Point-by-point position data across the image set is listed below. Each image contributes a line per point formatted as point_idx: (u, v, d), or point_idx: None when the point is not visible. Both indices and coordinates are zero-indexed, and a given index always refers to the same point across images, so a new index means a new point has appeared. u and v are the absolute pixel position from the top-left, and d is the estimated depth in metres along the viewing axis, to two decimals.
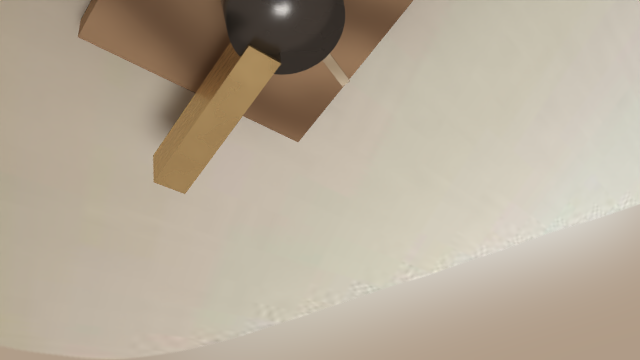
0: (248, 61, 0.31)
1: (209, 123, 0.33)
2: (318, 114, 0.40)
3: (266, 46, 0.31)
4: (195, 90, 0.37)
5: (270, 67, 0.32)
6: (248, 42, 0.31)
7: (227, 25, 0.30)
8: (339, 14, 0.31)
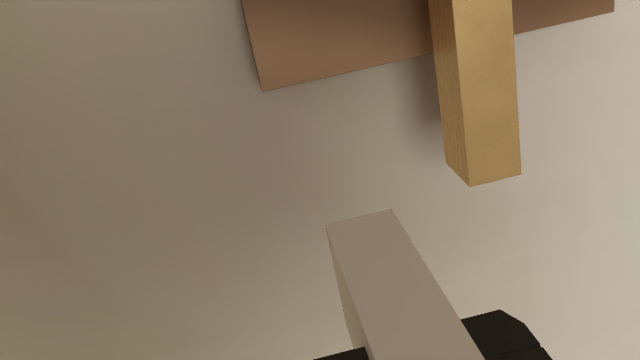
0: None
1: (475, 49, 0.20)
2: None
3: None
4: None
5: None
6: None
7: None
8: None
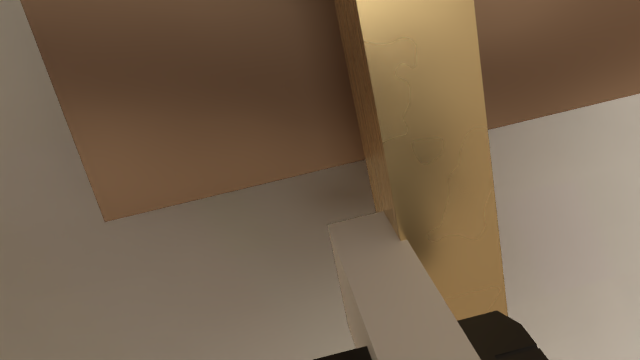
0: None
1: (425, 188, 0.12)
2: None
3: None
4: None
5: None
6: None
7: None
8: None
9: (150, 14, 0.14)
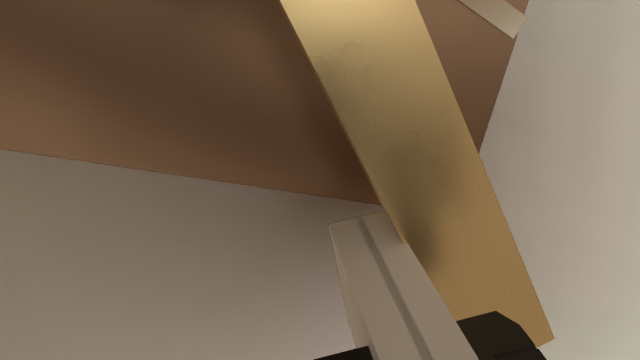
0: None
1: (413, 184, 0.12)
2: (480, 132, 0.16)
3: None
4: (171, 168, 0.15)
5: None
6: None
7: None
8: None
9: None
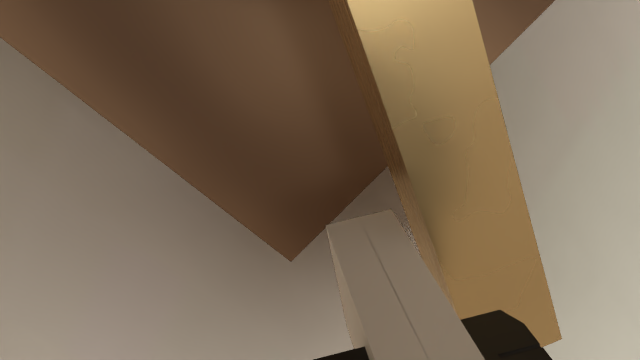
0: None
1: (443, 169, 0.12)
2: (350, 196, 0.16)
3: None
4: (46, 64, 0.14)
5: None
6: None
7: None
8: None
9: None
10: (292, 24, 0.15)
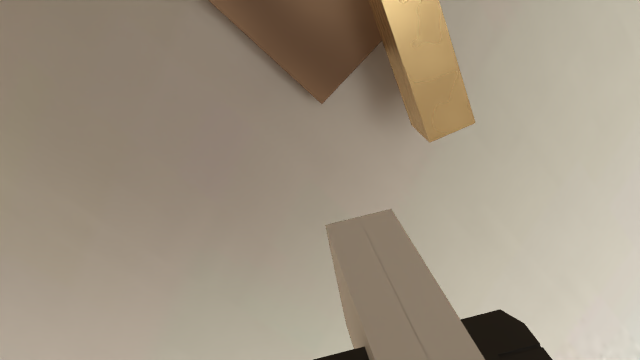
0: None
1: (406, 17, 0.23)
2: (357, 62, 0.28)
3: None
4: None
5: None
6: None
7: None
8: None
9: None
10: None
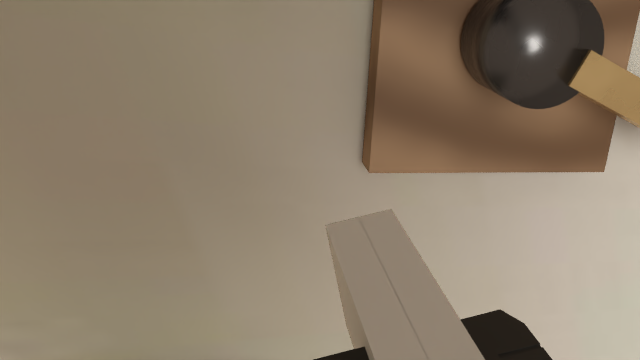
0: (585, 84, 0.31)
1: None
2: (610, 133, 0.37)
3: (571, 67, 0.31)
4: (484, 169, 0.37)
5: (594, 60, 0.31)
6: (565, 84, 0.31)
7: (547, 107, 0.32)
8: None
9: (420, 93, 0.35)
10: None
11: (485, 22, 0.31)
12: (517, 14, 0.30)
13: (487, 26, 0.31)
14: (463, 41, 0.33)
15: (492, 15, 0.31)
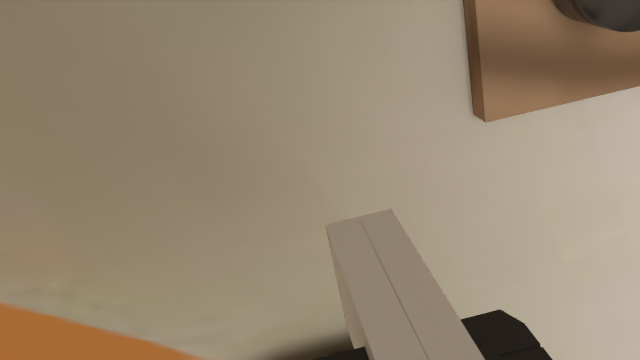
0: None
1: None
2: None
3: None
4: (588, 95, 0.40)
5: None
6: None
7: None
8: None
9: (520, 41, 0.38)
10: None
11: None
12: None
13: None
14: None
15: None
